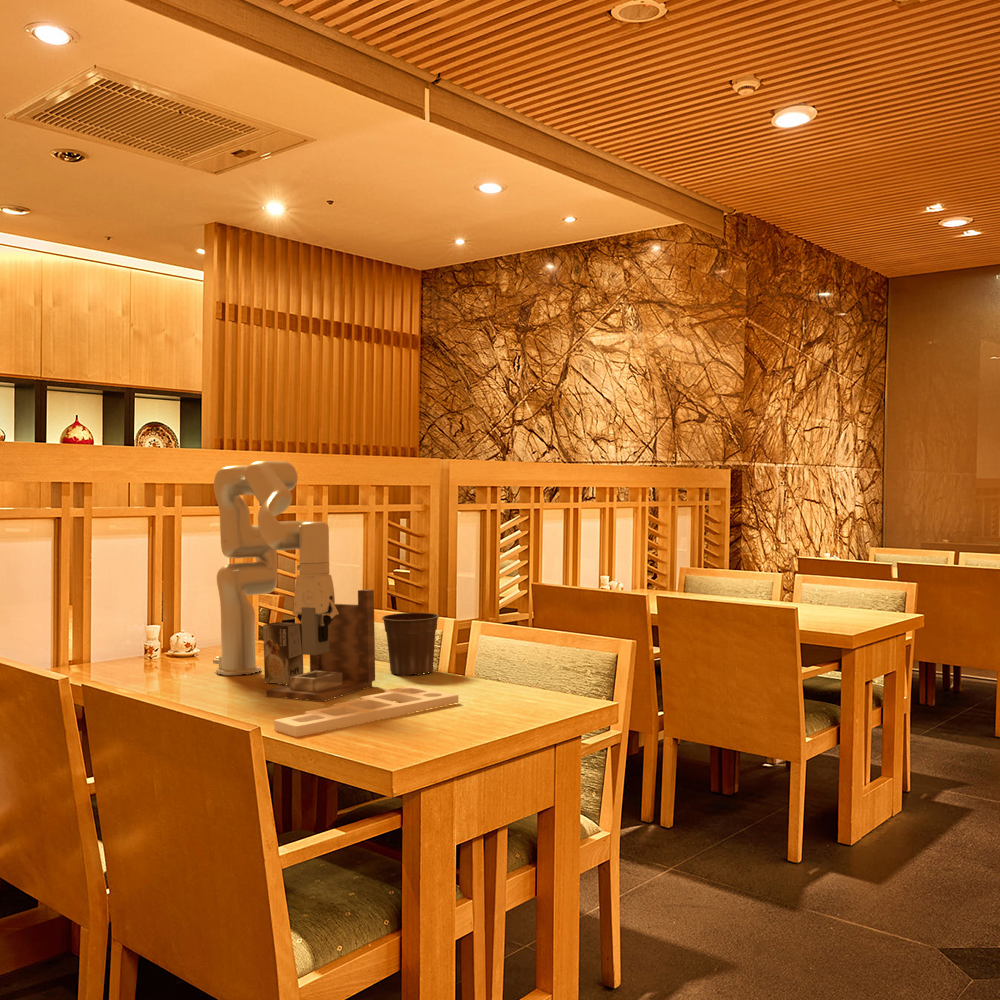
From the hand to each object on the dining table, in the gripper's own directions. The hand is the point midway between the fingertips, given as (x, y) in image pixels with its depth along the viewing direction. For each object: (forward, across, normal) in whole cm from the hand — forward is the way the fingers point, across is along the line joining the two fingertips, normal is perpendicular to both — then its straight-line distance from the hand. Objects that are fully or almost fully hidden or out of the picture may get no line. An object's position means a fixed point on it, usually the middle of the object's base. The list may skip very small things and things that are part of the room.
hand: (315, 640), depth 251 cm
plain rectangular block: (+3, 0, 0) cm, 3 cm away
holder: (+14, +25, -16) cm, 33 cm away
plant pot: (+14, +7, +34) cm, 38 cm away
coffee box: (+14, -17, +8) cm, 23 cm away
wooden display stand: (+13, 0, +2) cm, 14 cm away
